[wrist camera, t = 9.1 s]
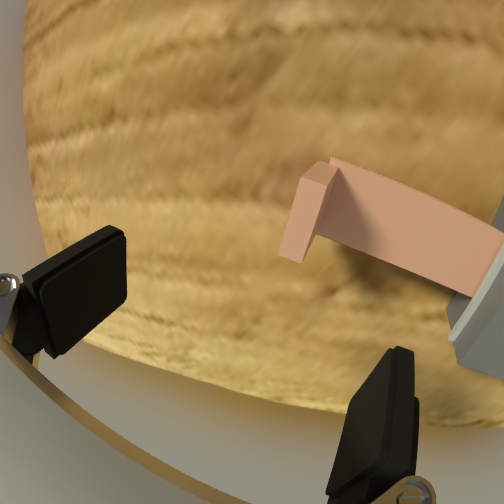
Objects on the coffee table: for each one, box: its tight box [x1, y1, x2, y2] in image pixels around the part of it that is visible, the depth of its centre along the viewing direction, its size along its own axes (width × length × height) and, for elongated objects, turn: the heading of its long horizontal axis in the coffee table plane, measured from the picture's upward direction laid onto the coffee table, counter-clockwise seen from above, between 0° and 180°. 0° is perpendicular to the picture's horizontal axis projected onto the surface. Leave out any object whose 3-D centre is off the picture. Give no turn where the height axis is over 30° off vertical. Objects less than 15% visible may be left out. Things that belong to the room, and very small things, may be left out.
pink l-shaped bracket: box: [278, 157, 504, 298], centre depth 19 cm, size 18×6×6 cm, turn 76°
